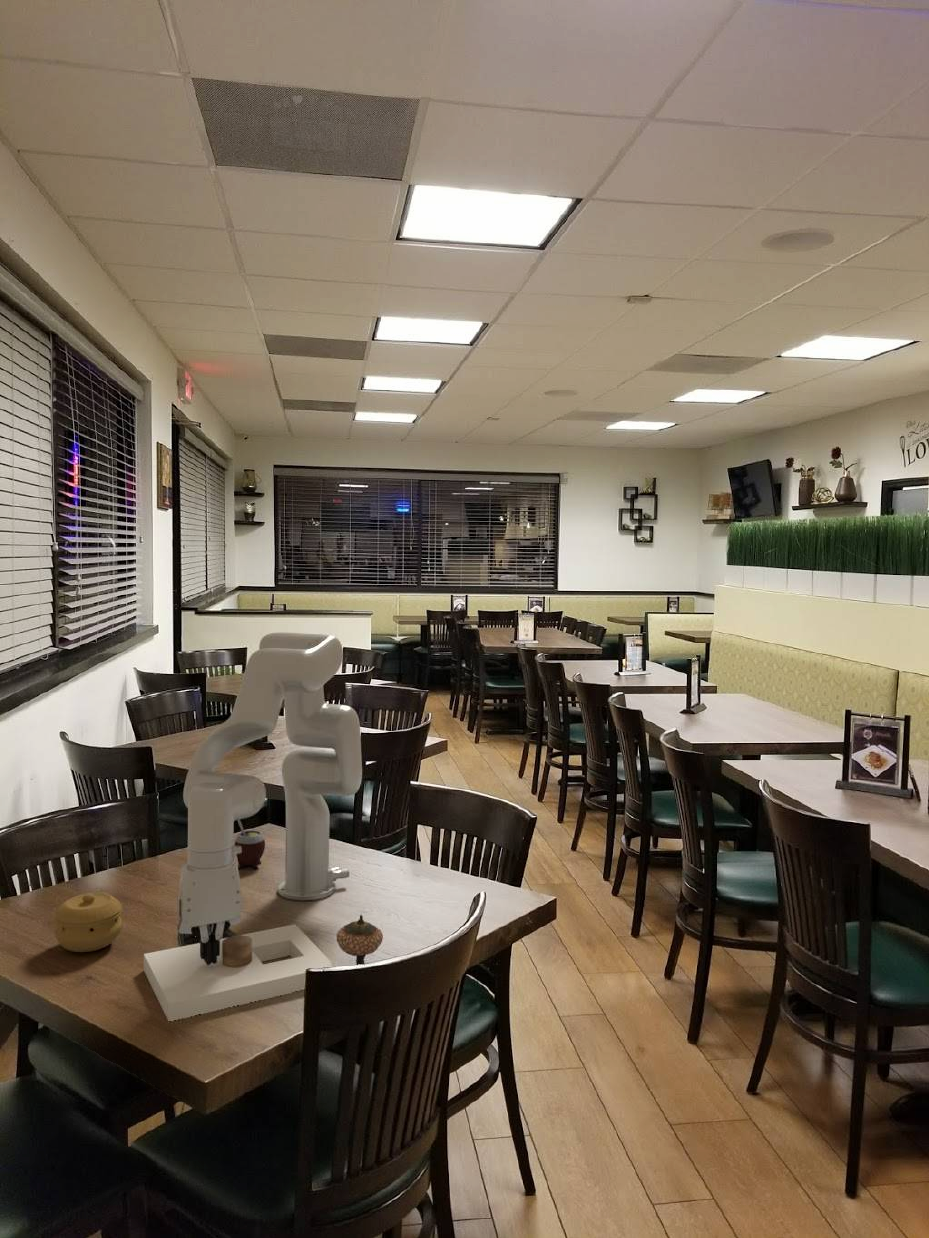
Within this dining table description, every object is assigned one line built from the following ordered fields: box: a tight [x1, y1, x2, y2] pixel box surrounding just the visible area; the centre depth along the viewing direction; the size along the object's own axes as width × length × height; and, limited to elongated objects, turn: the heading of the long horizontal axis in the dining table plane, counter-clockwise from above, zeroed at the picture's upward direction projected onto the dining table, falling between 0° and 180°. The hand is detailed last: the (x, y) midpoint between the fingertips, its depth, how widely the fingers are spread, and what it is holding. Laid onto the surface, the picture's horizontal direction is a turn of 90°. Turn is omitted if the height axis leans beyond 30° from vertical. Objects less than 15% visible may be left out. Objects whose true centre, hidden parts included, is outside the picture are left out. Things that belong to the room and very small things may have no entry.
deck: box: [143, 924, 335, 1022], centre depth 155 cm, size 28×20×3 cm
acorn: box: [335, 914, 384, 966], centre depth 159 cm, size 8×8×10 cm
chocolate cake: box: [176, 924, 237, 947], centre depth 169 cm, size 10×7×12 cm
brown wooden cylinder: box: [222, 934, 252, 967], centre depth 154 cm, size 5×5×4 cm
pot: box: [53, 892, 123, 953], centre depth 165 cm, size 12×12×10 cm
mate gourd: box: [234, 819, 266, 871], centre depth 210 cm, size 8×8×15 cm
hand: (209, 960), depth 152 cm, fingers closed
